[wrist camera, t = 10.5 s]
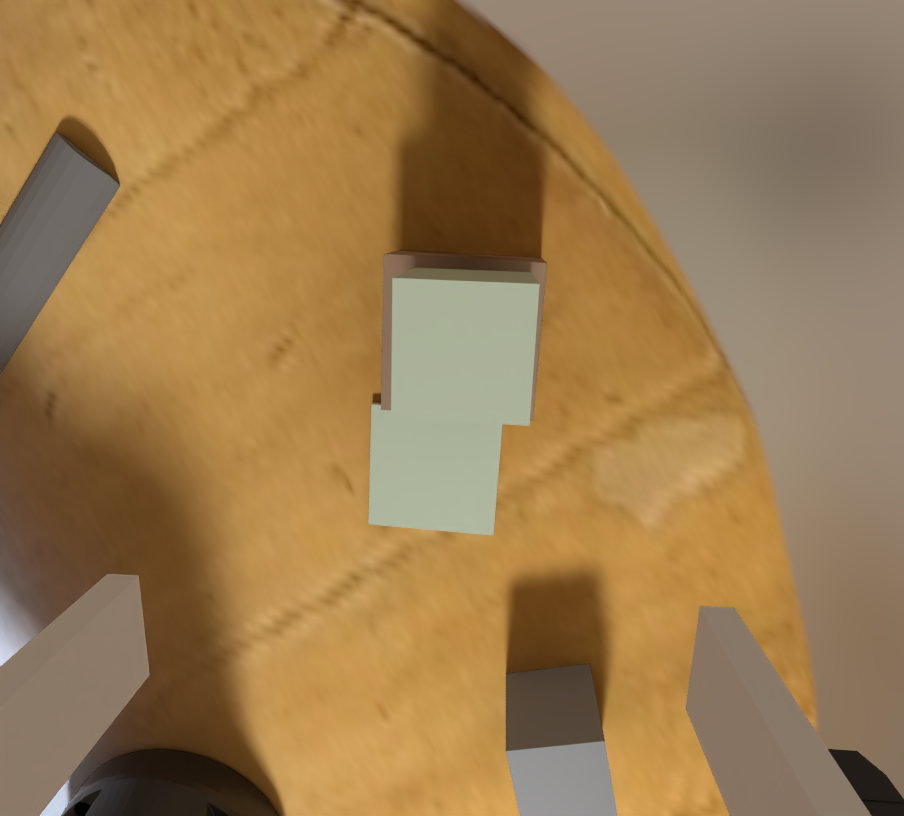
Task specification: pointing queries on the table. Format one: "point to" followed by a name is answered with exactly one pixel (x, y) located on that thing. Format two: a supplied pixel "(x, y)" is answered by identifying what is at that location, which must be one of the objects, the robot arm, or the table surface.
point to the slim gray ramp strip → (46, 234)
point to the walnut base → (420, 259)
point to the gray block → (557, 744)
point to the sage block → (463, 345)
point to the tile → (433, 473)
